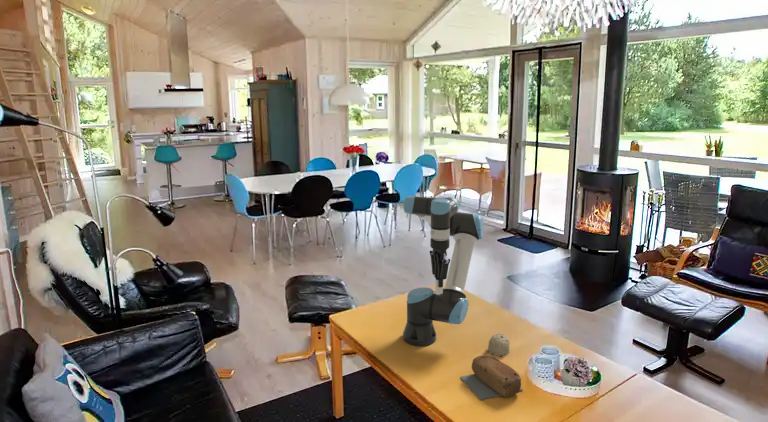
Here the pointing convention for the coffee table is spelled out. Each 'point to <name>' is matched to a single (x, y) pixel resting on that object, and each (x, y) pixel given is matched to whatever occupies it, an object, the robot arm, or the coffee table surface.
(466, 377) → the mat
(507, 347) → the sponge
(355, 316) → the coffee table surface
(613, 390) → the coffee table surface
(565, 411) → the coffee table surface
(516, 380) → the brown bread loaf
